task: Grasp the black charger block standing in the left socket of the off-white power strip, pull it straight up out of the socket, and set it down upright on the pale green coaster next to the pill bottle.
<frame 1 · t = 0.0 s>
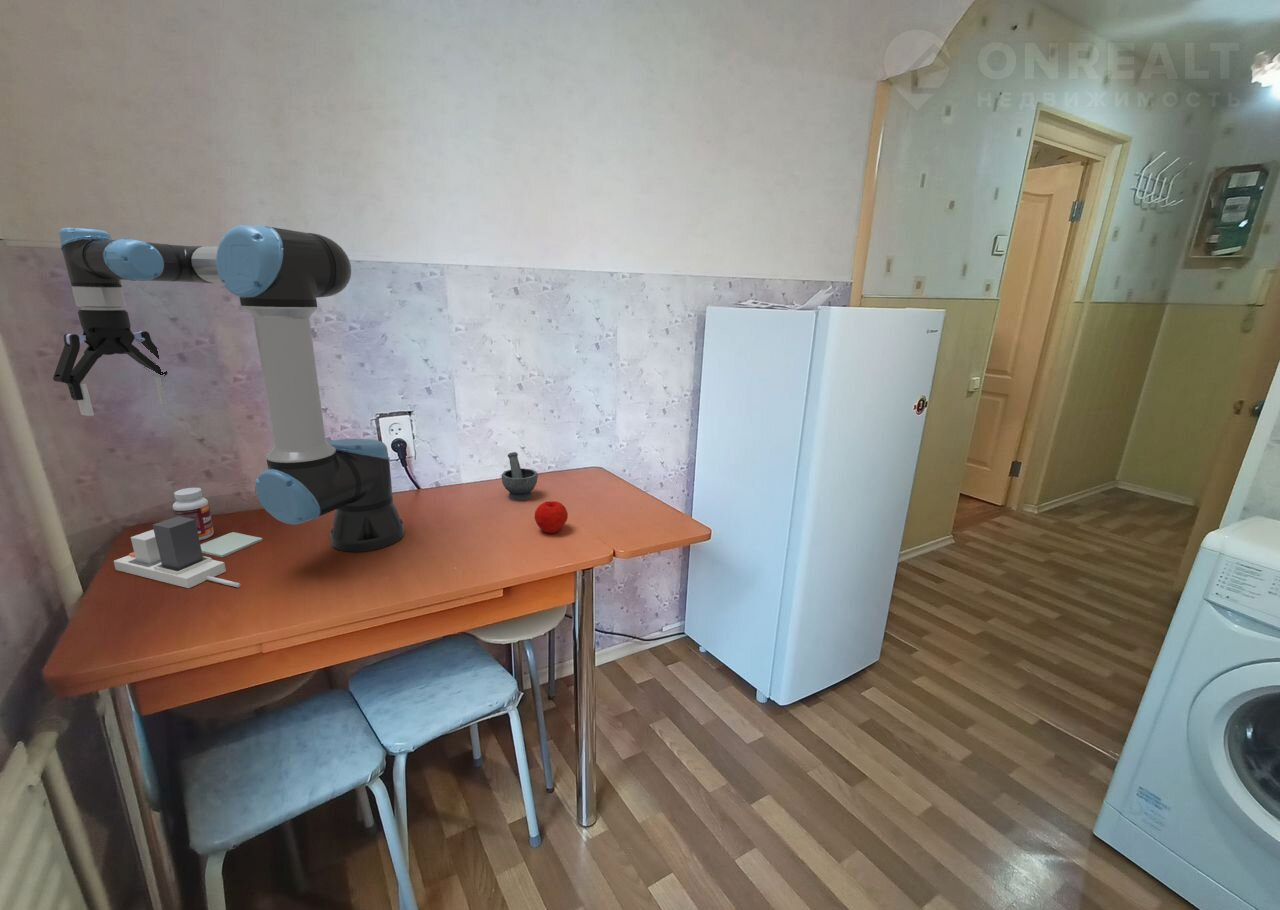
hand: (126, 409, 119), 28 cm above the table, fingers open, 13 cm apart
pill bottle: (197, 537, 122), on the table
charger: (183, 564, 106), point 2 cm above the table, touching strip
strip: (171, 570, 108), on the table
mortar and pestle: (519, 496, 154), on the table
coaster: (227, 545, 119), on the table
apple: (551, 531, 132), on the table
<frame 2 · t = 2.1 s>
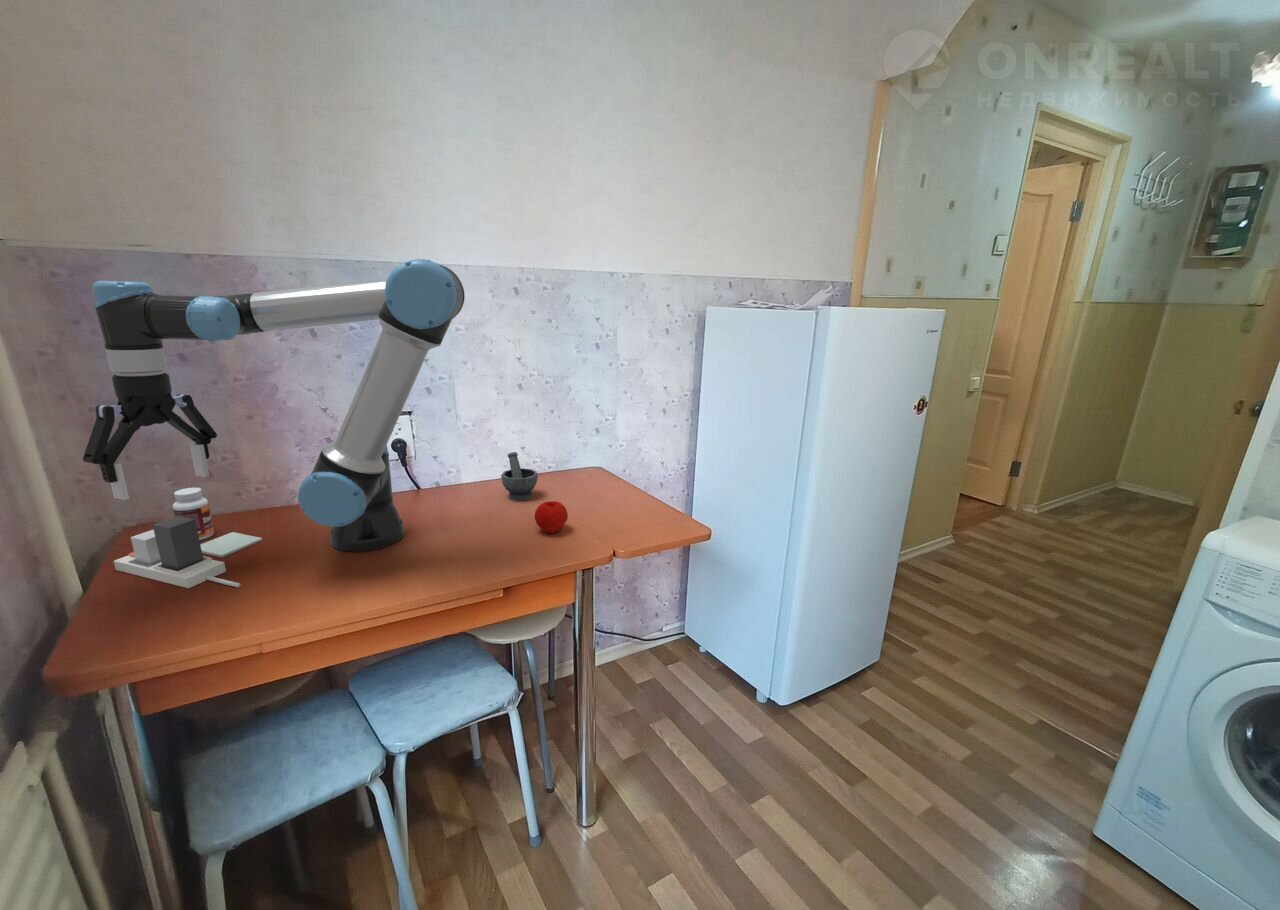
hand: (164, 486, 101), 18 cm above the table, fingers open, 13 cm apart
nothing on the table moved.
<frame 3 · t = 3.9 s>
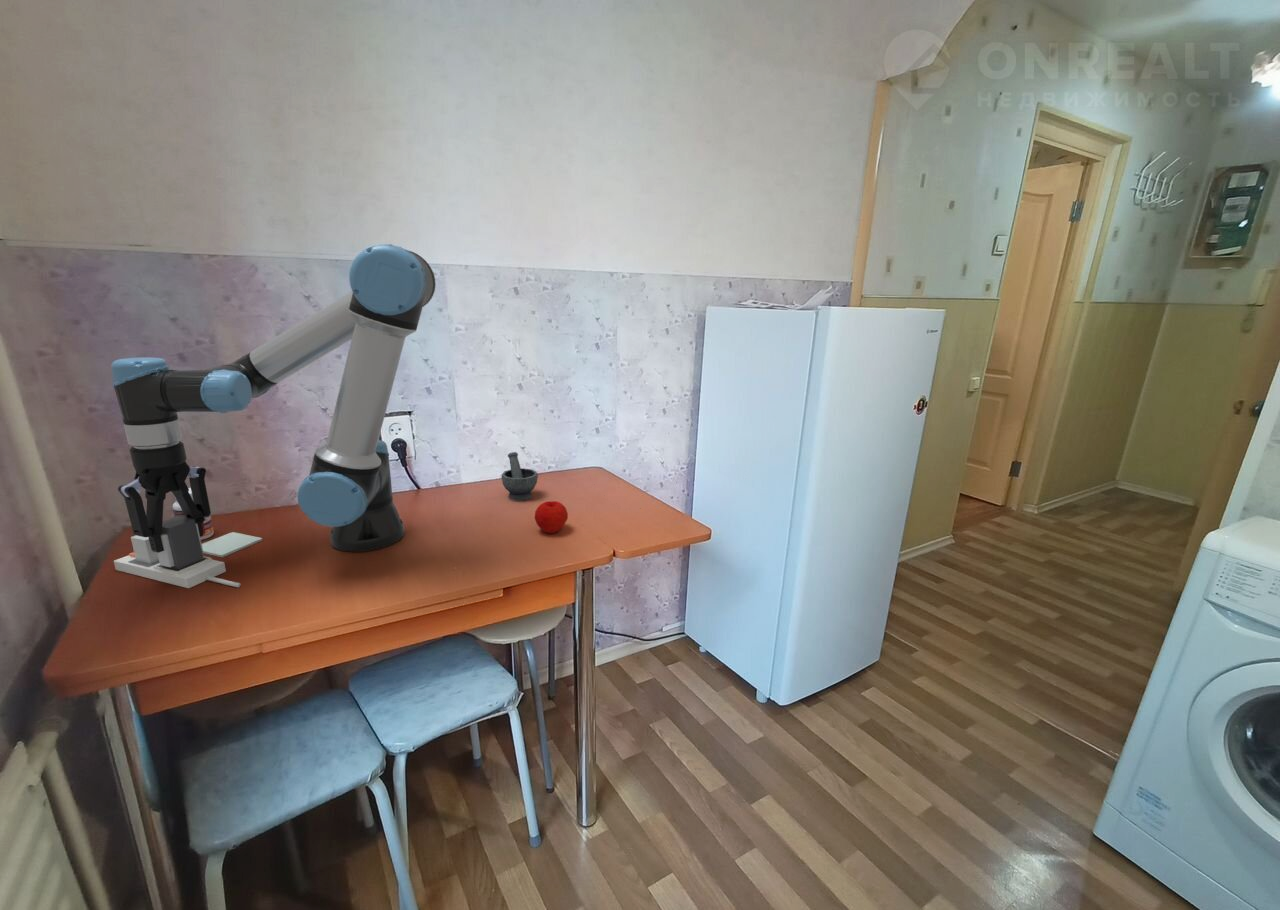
hand: (182, 559, 106), 3 cm above the table, fingers closed on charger, 5 cm apart
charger: (183, 564, 106), point 2 cm above the table, touching gripper, strip
everything else where it was.
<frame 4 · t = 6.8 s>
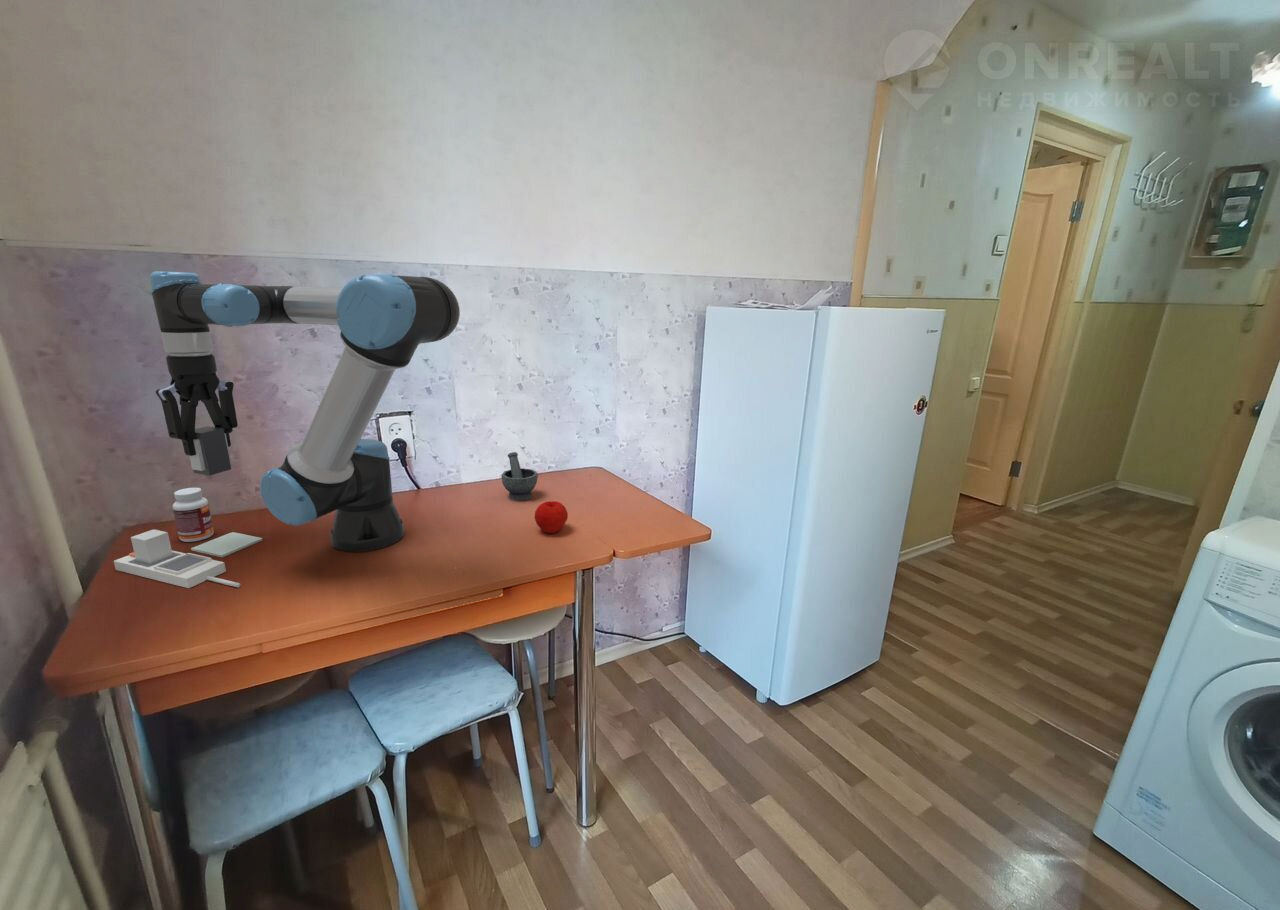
hand: (212, 465, 114), 18 cm above the table, fingers closed on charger, 5 cm apart
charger: (212, 471, 114), point 17 cm above the table, touching gripper
everything else where it was.
when the fingers open (3 cm above the table, at t = 9.7 s): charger drops 2 cm, resting on coaster.
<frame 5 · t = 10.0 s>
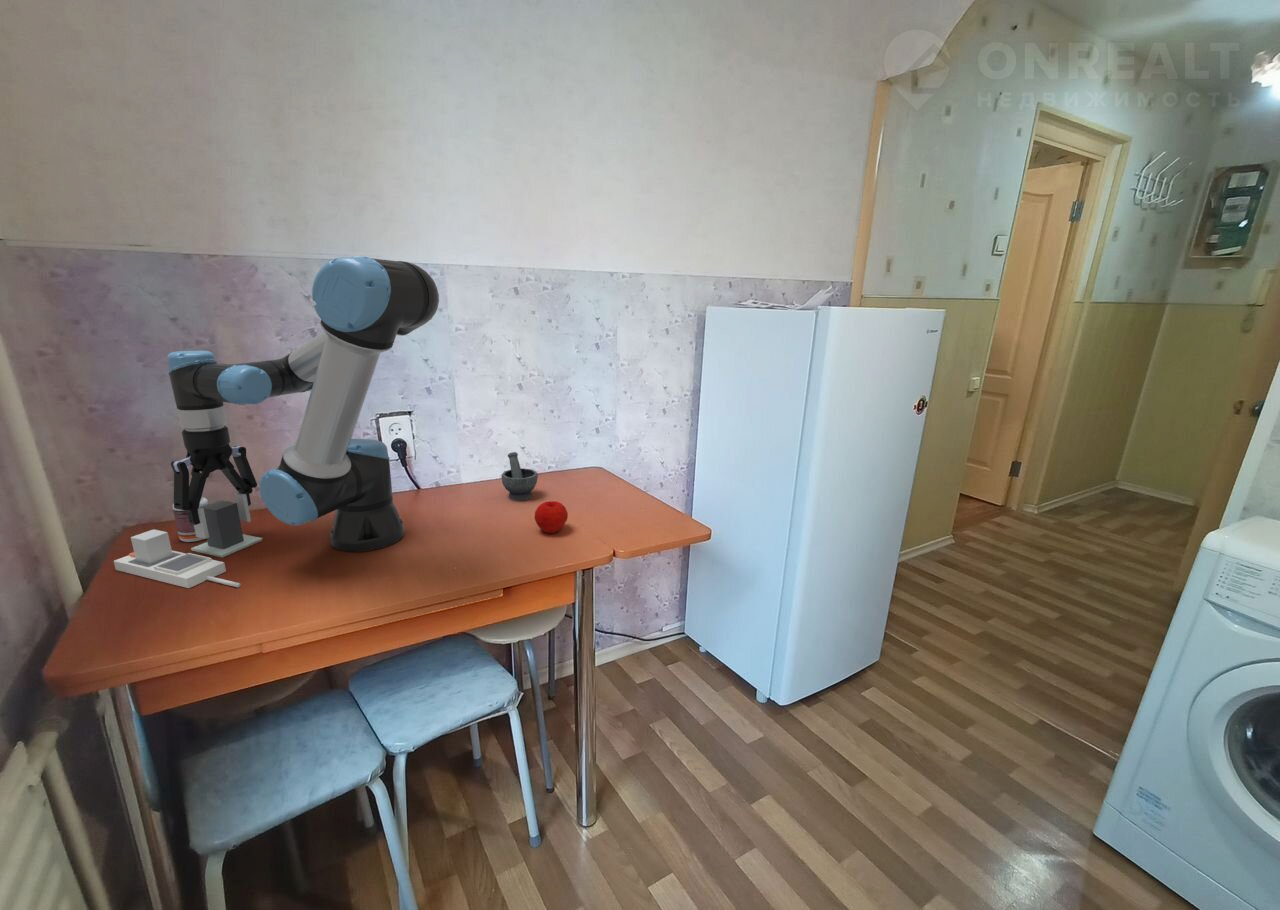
hand: (224, 528, 118), 4 cm above the table, fingers open, 8 cm apart
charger: (226, 543, 119), point 1 cm above the table, touching coaster
everything else where it was.
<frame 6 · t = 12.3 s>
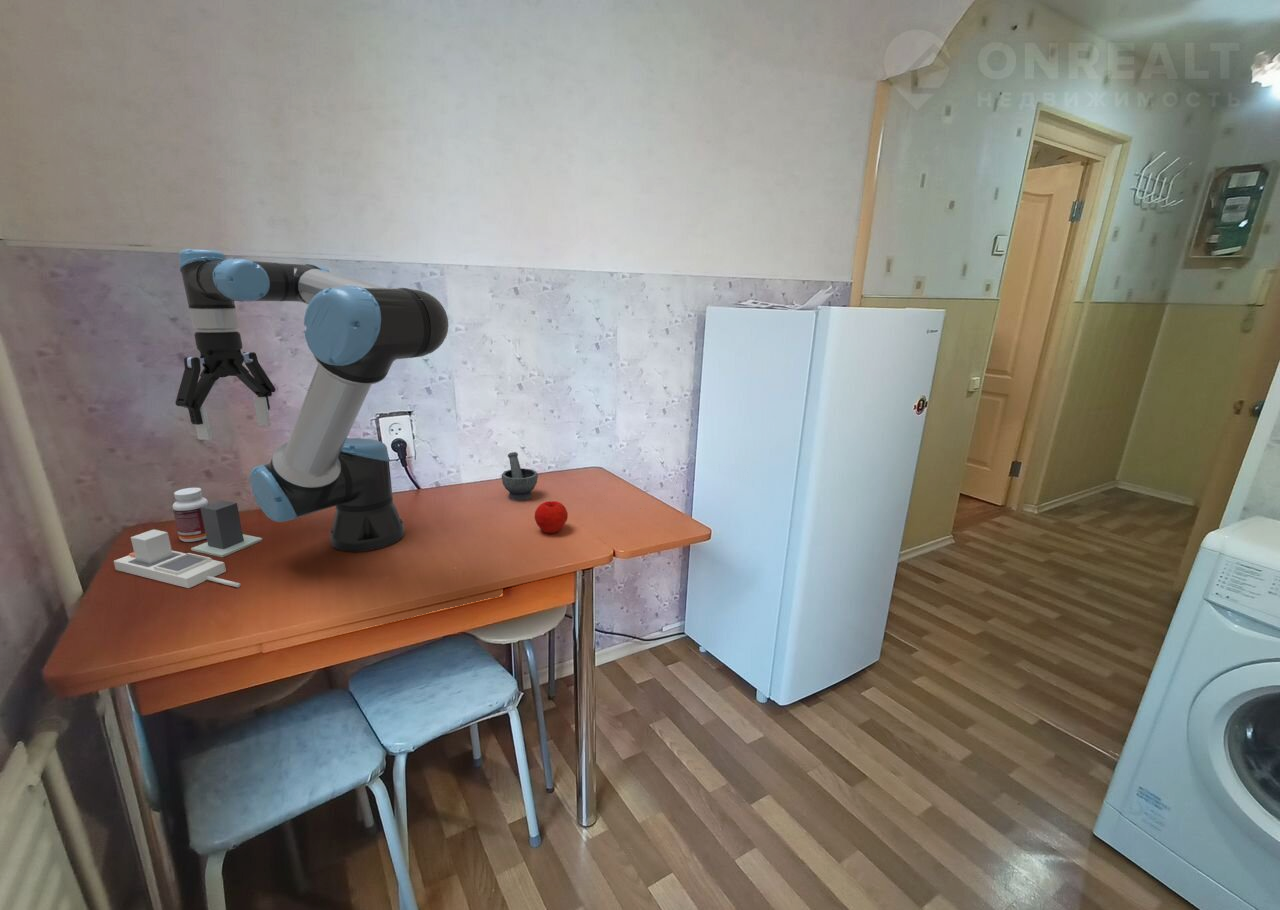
hand: (236, 432, 116), 25 cm above the table, fingers open, 13 cm apart
nothing on the table moved.
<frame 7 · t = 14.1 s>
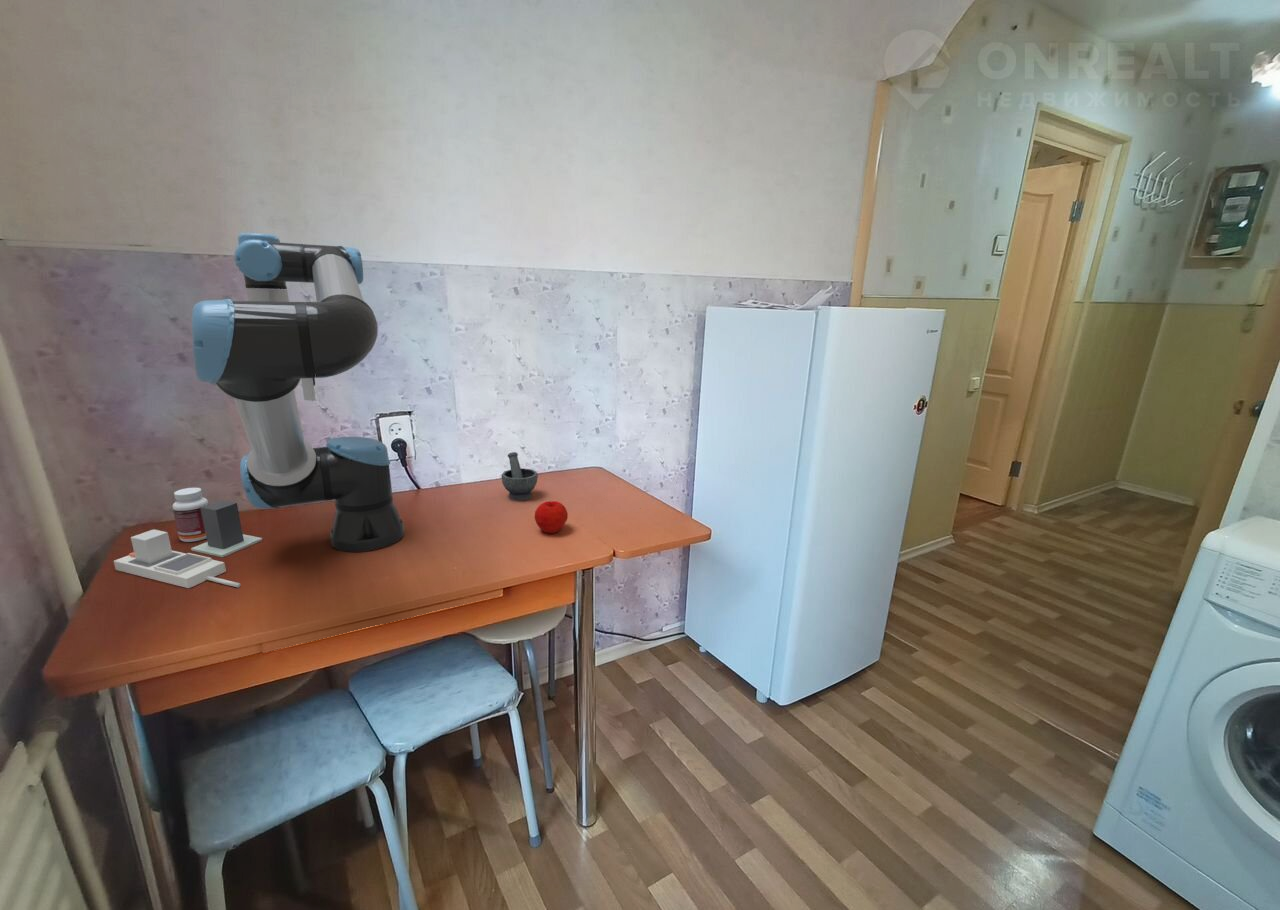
hand: (284, 405, 125), 29 cm above the table, fingers open, 13 cm apart
nothing on the table moved.
at the end: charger inside the target area on the coaster (0.2 cm from its centre), point 0.5 cm above the coaster's base; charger tilted 0°; the gripper is holding nothing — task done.
